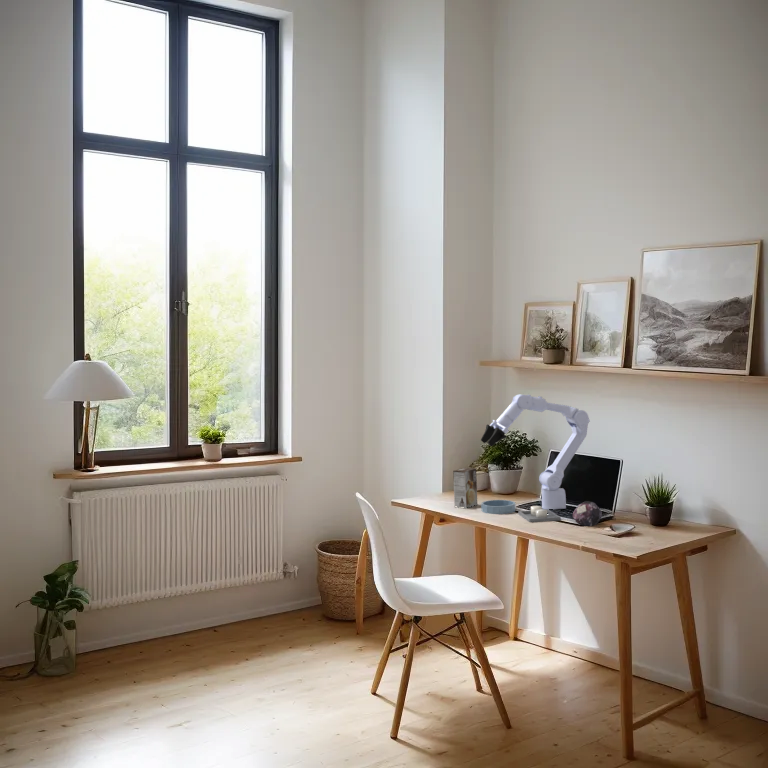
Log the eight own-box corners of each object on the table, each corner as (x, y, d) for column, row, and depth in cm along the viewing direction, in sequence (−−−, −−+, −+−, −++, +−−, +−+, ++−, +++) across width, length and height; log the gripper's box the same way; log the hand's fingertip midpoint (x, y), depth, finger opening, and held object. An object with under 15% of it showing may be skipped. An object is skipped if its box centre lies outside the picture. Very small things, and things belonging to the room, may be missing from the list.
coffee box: (465, 503, 380) (464, 467, 379) (477, 505, 376) (476, 468, 375) (454, 507, 373) (452, 470, 372) (466, 508, 369) (465, 471, 368)
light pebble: (540, 513, 349) (539, 505, 349) (543, 516, 345) (543, 507, 344) (529, 514, 348) (529, 506, 348) (532, 516, 344) (532, 508, 344)
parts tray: (548, 514, 352) (548, 509, 351) (560, 522, 336) (560, 517, 336) (518, 516, 350) (518, 511, 350) (529, 524, 335) (529, 519, 335)
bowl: (510, 508, 366) (510, 499, 366) (519, 515, 353) (519, 505, 352) (478, 510, 365) (478, 501, 364) (486, 517, 351) (486, 507, 351)
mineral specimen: (565, 520, 332) (574, 495, 333) (589, 528, 334) (598, 504, 335) (576, 524, 323) (585, 499, 323) (600, 533, 325) (609, 508, 325)
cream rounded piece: (545, 517, 342) (545, 508, 342) (548, 519, 338) (548, 511, 338) (534, 518, 342) (534, 509, 342) (537, 520, 337) (537, 511, 337)
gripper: (494, 409, 360) (473, 434, 359) (507, 414, 346) (485, 439, 345) (505, 420, 362) (484, 445, 361) (519, 425, 348) (497, 451, 347)
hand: (485, 443), depth 353 cm, fingers open, 7 cm apart
